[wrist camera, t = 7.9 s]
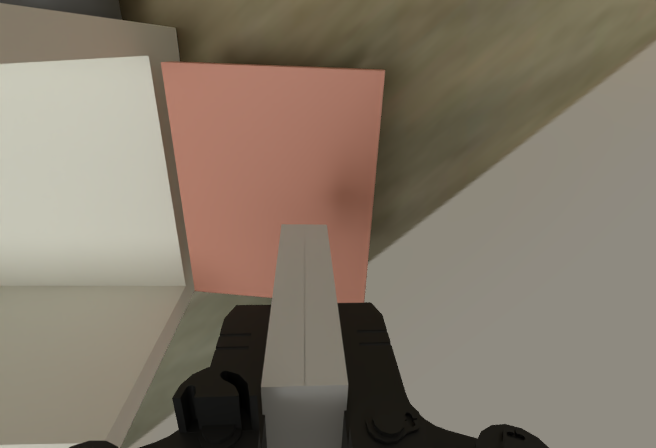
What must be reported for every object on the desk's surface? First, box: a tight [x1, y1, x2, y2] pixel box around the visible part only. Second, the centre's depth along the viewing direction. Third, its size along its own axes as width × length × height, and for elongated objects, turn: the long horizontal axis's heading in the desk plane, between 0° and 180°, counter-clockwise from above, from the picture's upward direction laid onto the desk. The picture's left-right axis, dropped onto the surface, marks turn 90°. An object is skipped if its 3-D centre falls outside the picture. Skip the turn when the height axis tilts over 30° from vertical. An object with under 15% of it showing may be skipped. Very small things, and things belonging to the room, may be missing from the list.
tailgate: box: [161, 61, 385, 303], centre depth 18 cm, size 11×1×9 cm
